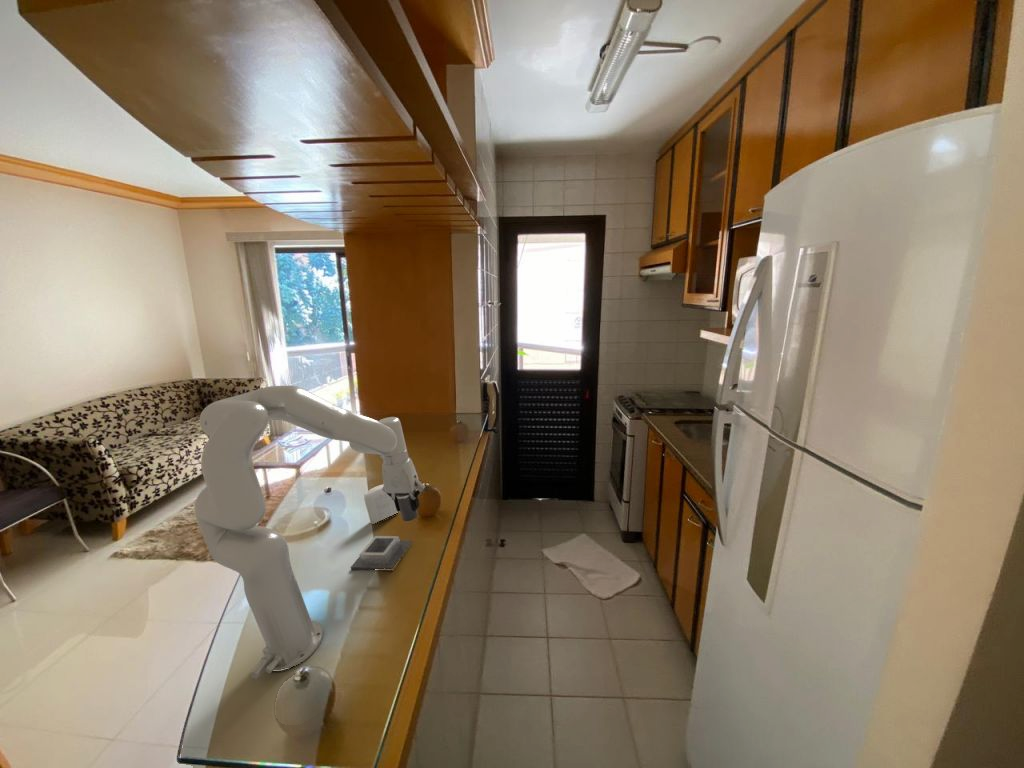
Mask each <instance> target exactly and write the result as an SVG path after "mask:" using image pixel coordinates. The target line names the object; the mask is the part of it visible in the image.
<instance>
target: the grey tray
mask: <svg viewBox="0 0 1024 768" xmlns="http://www.w3.org/2000/svg"><path fill="white" fill-rule="evenodd" d="M411 543H412V544H413V540H400V536H398V535H375V536H374V537H373V538H372V539H371V540H370V541H369V542H368V544H367V545H366V546H365V547H364V548H363V549H362V551H361V552H360V553H359V556H358V558H357V559H356V560H355V561H354V563H352V565H351V566H350V570H351V571H370V570H375V569H384V568H385V569H393V568H394V566H395V565H396V563H397V562H398V561H399V559H400V558H401V557H402V555H403V554H404V553H405V551H406V550H407V549H408V547H409V546H410V545H411ZM411 546H412V545H411ZM411 546H410V547H411ZM410 547H409V548H410ZM408 550H409V549H408ZM408 550H407V551H408ZM405 554H406V553H405Z"/></svg>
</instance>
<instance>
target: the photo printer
mask: <svg viewBox="0 0 1024 768" xmlns="http://www.w3.org/2000/svg"><path fill="white" fill-rule="evenodd" d="M383 486H384V483H383V484H380V485H377V486H374V487H373V488H370V489H369V490H367V491H366V492H365V493H363V499H364V504H365V507H366V510H367V514H368V518H369V522H370V523H371V525H375V523H376V524H378V523H379V522H378V521H380V520H383V519H385V518H387V517H389V516H392V515H394V514H396V513H398V511H397V510H396V507H395V503H394V500H392V499H391V497H390V496H389V495H388V494H387V493H385V492H384V491H382V488H383ZM398 514H399V513H398ZM396 515H397V514H396ZM394 516H395V515H394ZM392 517H393V516H392ZM387 519H388V518H387ZM385 520H386V519H385ZM383 521H384V520H383ZM377 522H378V523H377Z"/></svg>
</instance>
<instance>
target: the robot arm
mask: <svg viewBox="0 0 1024 768" xmlns="http://www.w3.org/2000/svg"><path fill="white" fill-rule="evenodd" d="M198 421H199V426H200V429H201V431H202V432H203V433H205V434H206V435H207V436H209V438H208V440H207V442H206V443H205V445H204V448H203V450H202V455H201V459H200V463H201V464H200V466H201V472H202V476H203V479H204V481H205V485H206V487H204V488H203V489H202V490H201V491H200V492H199V493H198V495H197V497H196V499H195V503H194V516H195V519H196V522H197V525H198V528H199V530H200V532H201V534H202V538H203V540H204V542H205V546H206V547H207V549H208V551H209V554H210V556H211V557H212V560H214V562H216V563H217V564H219V565H221V566H223V567H224V568H228V569H230V570H232V571H234V572H236V573H238V574H239V575H240V576H241V578H242V581H243V588H244V589H243V591H244V595H245V598H246V600H247V604H248V606H249V608H250V610H251V612H252V614H253V617H254V620H255V622H256V624H257V627H258V629H259V632H260V633H261V636H262V639H263V641H264V644H265V647H264V648H263V649H262V653H263V656H262V657H261V661H260V662H259V663H258V664H257V665H256V666H255V667H254V668H253V669H252V671H250V676H251V677H252V678H253V679H256V680H257V679H258V678H260V676H261V675H262V674H263V673H264V672H266V673H267V674H271V673H272V671H273V670H281V669H285V668H290V667H293V666H295V667H297V666H299V665H301V662H302V663H303V662H304V661H306V660H307V659H308V658H309V657H310V656H311V655H312V654H313V653H314V652H315V651H316V650H317V649H318V648H319V646H320V644H321V642H322V640H323V637H324V629H323V626H322V625H321V623H319V622H318V621H314V620H312V618H311V616H310V613H309V610H308V608H307V605H306V603H305V600H304V597H303V595H302V592H301V590H300V587H299V584H298V581H297V579H296V576H295V573H294V571H293V567H292V564H291V560H290V559H291V558H290V551H289V545H288V543H287V540H286V539H285V537H284V536H283V535H282V534H281V533H279V532H278V531H276V530H274V529H271V528H268V527H264V526H260V525H259V524H260V523H261V522H262V521H263V519H264V518H265V516H266V514H267V513H266V512H267V502H266V498H265V496H264V493H263V490H262V488H261V485H260V482H259V478H258V476H257V474H256V470H255V466H254V463H253V451H254V448H255V447H256V444H257V443H258V441H259V439H260V438H261V436H263V434H264V433H265V431H266V430H267V428H268V425H269V422H271V421H283V422H286V423H289V424H290V425H291V424H292V425H293V426H296V427H297V428H298V427H299V428H301V429H303V430H306V431H308V432H311V433H312V434H314V435H317V436H320V437H322V438H327V439H330V440H336V441H340V442H341V441H342V442H348V444H349V447H351V449H352V451H354V452H357V453H361V454H369V455H371V454H372V455H379V458H380V459H381V460H382V461H383V462H381V476H382V483H383V484H384V486H383V488H382V491H384V492H385V493H387V494H388V495H389V496H390V497H391V499H392V500H394V503H395V507H396V510H397V511H399V512H400V508H399V504H398V500H397V497H396V494H397V493H409V495H410V497H411V498H412V499H411V505H412V510H413V511H416V510H417V511H418V509H419V507H420V501H419V497H418V496H419V495H420V493H421V492H423V490H424V489H425V488H426V486H425V485H424V484H423V483H422V482H421V481H420V480H419V477H418V472H417V471H416V467H415V465H414V462H413V460H412V458H411V457H409V451H408V448H407V445H406V439H405V436H404V432H403V426H402V423H401V420H400V419H399V417H396V416H390V417H389V416H388V417H385V418H381V419H380V420H379V419H378V420H376V419H373V418H370V417H368V416H365V415H362V414H358V413H357V412H353V411H351V410H348V409H346V408H342V407H340V406H338V405H335V404H334V403H331V402H330V401H328V400H326V399H324V398H321V397H320V396H318V395H316V394H314V393H312V392H310V391H308V390H306V389H304V388H302V387H299V386H298V385H297V386H296V385H272V386H266V387H263V388H259V389H255V390H252V391H248V392H245V393H241V394H238V395H234V396H230V397H227V398H223V399H219V400H216V401H213V402H212V403H209V404H208V405H207V406H205V408H204V409H203V410H202V411H201V413H200V416H199V420H198ZM417 488H418V489H417ZM298 664H299V665H298ZM296 665H297V666H296ZM293 668H294V667H293Z"/></svg>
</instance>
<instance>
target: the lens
mask: <svg viewBox="0 0 1024 768" xmlns="http://www.w3.org/2000/svg"><path fill="white" fill-rule="evenodd" d="M396 497H397V500H398V504H399V508H400V511H399V513H400V515H401V519H402V521H403V522H410V521H412V520H413V521H414V520H415V519H417V518H418V515H419V513H418V509H417V510H416V511H413V510H412V505H411V499H412V498H411V497H410V495H409V493H397V494H396Z"/></svg>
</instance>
